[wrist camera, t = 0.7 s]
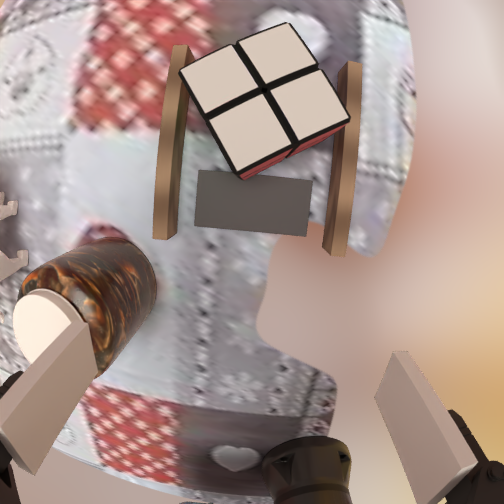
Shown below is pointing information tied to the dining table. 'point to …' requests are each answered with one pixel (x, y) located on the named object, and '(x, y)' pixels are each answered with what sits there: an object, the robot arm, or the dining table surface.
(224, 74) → the puzzle cube
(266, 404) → the dining table surface
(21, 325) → the jar
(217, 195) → the pad
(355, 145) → the channel
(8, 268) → the cat figurine
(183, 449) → the dining table surface
